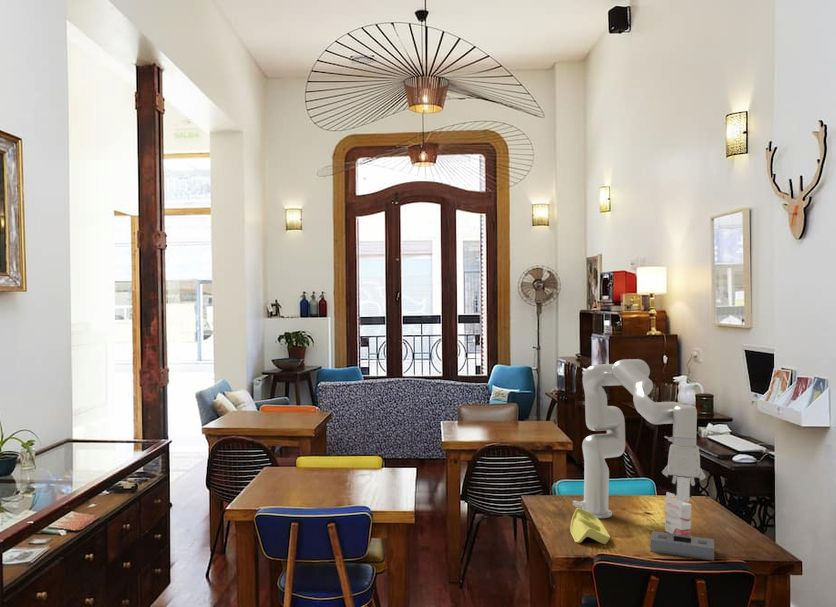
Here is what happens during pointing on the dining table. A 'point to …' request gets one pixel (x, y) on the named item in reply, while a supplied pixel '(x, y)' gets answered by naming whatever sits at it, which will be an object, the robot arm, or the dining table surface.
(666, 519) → the ink cartridge box
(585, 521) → the plastic component
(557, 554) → the dining table surface
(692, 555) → the grey slotted block
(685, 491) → the steel peg
